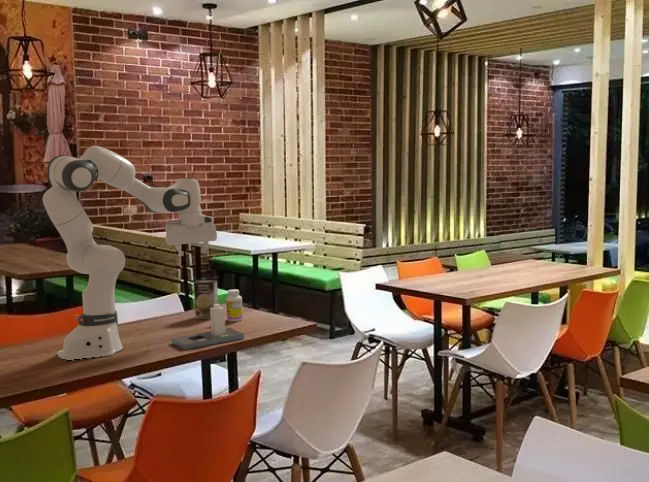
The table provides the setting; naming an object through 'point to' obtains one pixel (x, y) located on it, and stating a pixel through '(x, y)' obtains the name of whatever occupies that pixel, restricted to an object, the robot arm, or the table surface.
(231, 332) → the panel
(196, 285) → the coffee box
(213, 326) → the plug
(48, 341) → the table surface
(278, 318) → the table surface
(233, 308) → the supplement bottle
